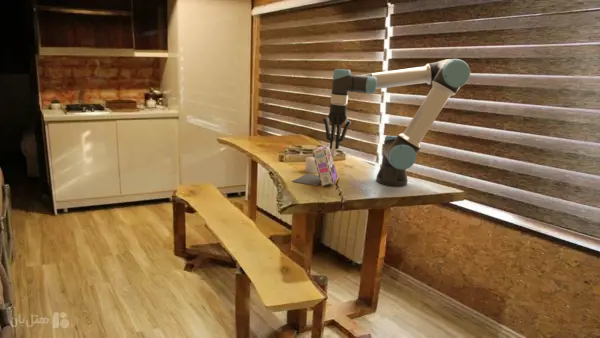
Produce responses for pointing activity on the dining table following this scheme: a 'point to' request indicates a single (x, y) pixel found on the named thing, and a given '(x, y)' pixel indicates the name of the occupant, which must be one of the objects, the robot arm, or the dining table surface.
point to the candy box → (325, 165)
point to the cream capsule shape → (310, 165)
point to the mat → (308, 179)
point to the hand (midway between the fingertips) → (333, 155)
